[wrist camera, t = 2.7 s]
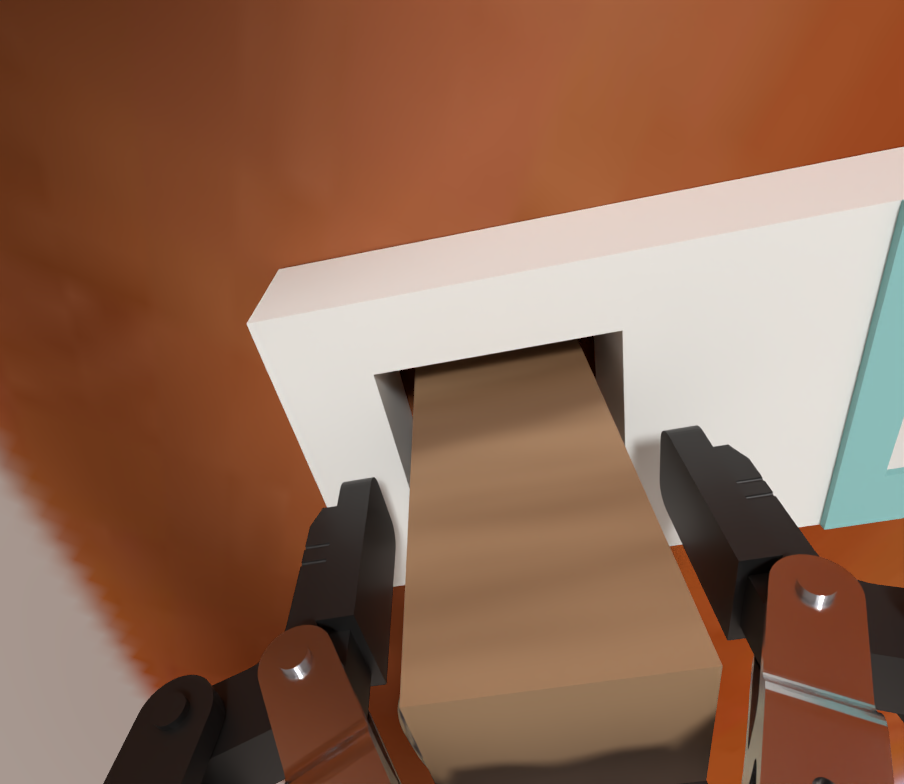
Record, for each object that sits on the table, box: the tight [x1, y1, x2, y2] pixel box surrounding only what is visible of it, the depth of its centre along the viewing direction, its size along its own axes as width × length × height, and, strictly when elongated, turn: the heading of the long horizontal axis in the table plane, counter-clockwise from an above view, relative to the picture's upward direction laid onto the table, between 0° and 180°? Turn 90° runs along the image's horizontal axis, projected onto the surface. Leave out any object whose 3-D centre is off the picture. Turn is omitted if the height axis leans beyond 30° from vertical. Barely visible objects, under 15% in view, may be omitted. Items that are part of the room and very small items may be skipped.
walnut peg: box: [399, 339, 722, 784], centre depth 12 cm, size 4×4×10 cm
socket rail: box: [247, 147, 904, 587], centre depth 15 cm, size 9×22×3 cm, turn 101°
